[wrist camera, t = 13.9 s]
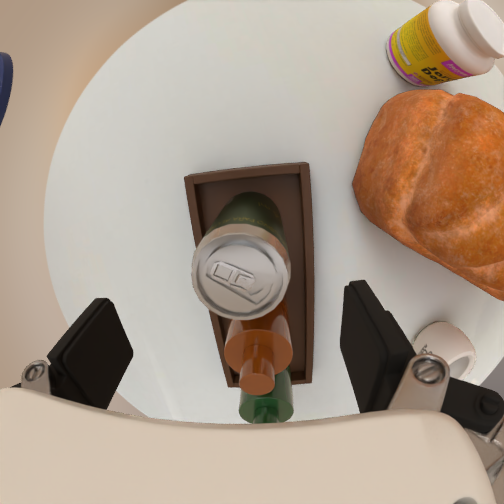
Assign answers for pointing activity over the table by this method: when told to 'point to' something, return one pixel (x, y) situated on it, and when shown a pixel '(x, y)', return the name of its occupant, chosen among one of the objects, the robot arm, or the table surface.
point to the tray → (297, 238)
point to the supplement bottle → (447, 43)
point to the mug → (447, 347)
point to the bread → (439, 181)
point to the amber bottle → (260, 349)
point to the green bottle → (269, 402)
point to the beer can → (243, 259)
